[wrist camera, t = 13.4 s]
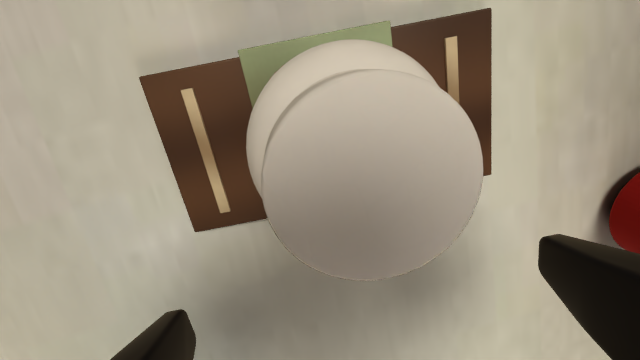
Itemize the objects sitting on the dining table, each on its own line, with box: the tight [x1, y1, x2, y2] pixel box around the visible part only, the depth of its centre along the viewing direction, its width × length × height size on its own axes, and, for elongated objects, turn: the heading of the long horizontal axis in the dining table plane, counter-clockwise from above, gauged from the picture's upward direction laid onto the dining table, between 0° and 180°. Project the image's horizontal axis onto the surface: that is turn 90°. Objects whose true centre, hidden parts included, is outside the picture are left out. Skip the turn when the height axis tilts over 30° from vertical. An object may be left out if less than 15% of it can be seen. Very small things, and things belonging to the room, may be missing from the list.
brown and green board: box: [139, 8, 491, 232], centre depth 18 cm, size 9×18×1 cm, turn 101°
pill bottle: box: [246, 39, 483, 281], centre depth 12 cm, size 6×6×11 cm
